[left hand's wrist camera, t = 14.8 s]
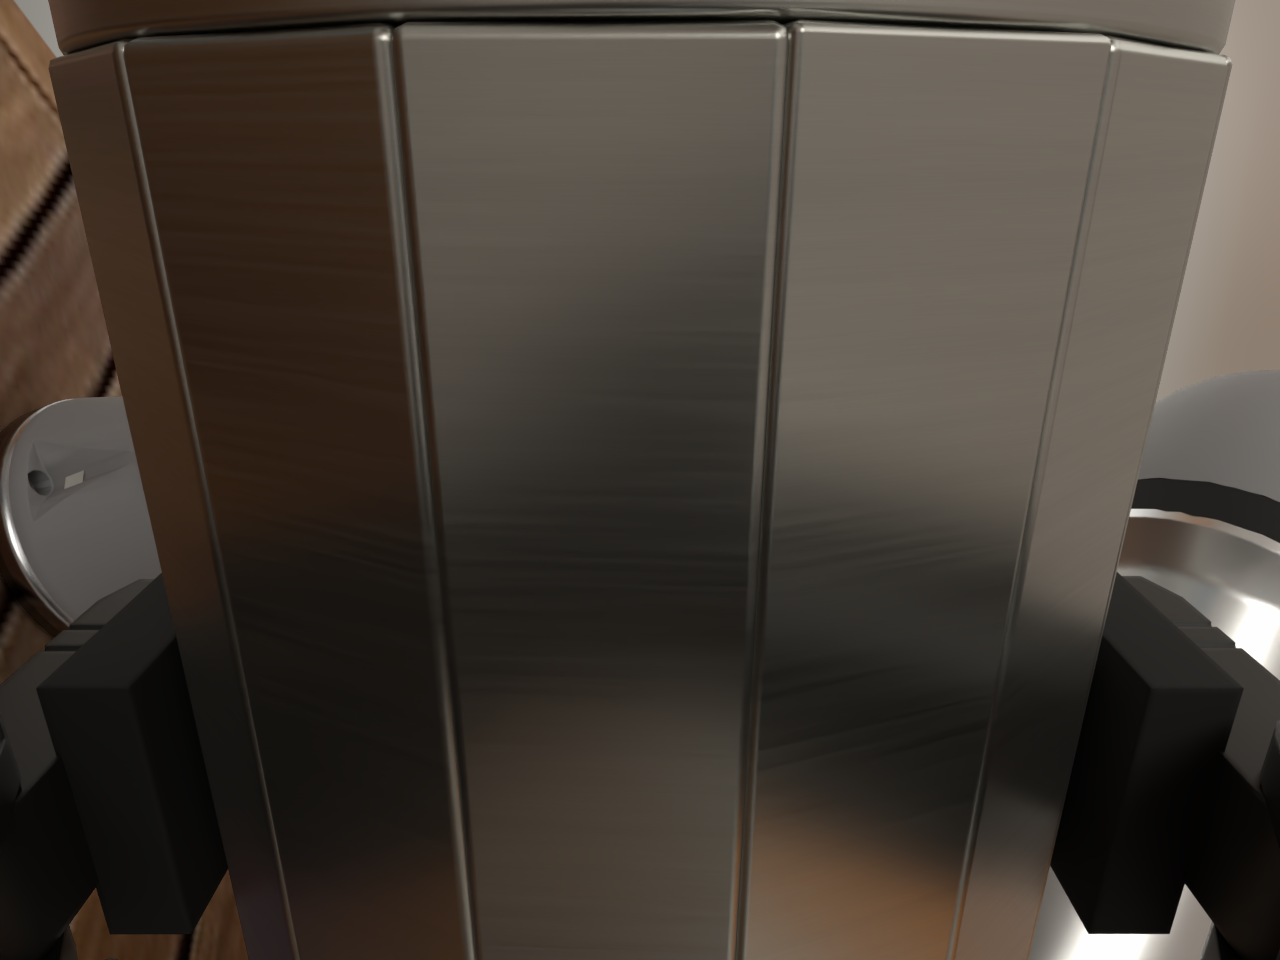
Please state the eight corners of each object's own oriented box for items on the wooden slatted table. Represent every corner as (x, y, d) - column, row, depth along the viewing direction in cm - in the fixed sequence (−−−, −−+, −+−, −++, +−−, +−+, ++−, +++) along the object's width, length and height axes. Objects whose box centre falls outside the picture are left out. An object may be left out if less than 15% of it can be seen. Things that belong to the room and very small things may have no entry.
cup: (1182, 25, 9) (1022, 807, 13) (501, 53, 12) (532, 666, 16) (1507, -352, 2) (939, 1631, 6) (-273, -52, 5) (101, 1077, 9)
